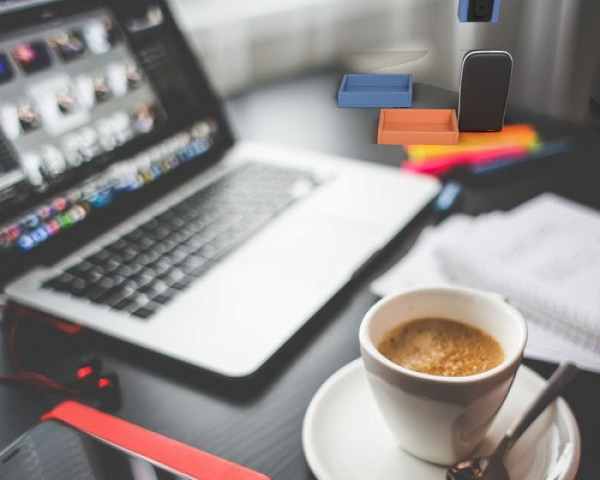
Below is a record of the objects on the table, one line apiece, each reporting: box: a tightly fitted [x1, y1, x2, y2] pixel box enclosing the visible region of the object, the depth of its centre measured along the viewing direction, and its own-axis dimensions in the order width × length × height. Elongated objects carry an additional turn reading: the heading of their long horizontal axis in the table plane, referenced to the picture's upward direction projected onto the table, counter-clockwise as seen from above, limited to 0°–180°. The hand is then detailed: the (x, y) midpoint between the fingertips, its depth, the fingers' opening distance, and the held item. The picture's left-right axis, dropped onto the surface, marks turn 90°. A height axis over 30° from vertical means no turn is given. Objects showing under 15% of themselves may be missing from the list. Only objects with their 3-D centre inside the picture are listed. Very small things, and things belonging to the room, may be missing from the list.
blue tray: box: [337, 73, 413, 109], centre depth 109 cm, size 12×11×2 cm
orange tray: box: [377, 108, 460, 146], centre depth 93 cm, size 11×10×2 cm
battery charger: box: [457, 48, 513, 132], centre depth 92 cm, size 7×4×11 cm, turn 84°
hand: (477, 15), depth 86 cm, fingers closed on blue block, 5 cm apart
